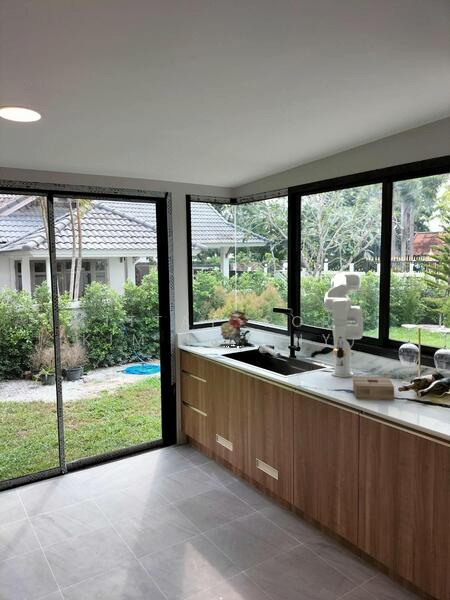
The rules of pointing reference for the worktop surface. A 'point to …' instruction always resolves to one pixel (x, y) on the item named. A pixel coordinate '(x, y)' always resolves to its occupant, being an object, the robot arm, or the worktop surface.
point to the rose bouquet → (235, 329)
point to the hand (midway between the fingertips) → (340, 355)
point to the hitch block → (373, 388)
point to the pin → (339, 360)
